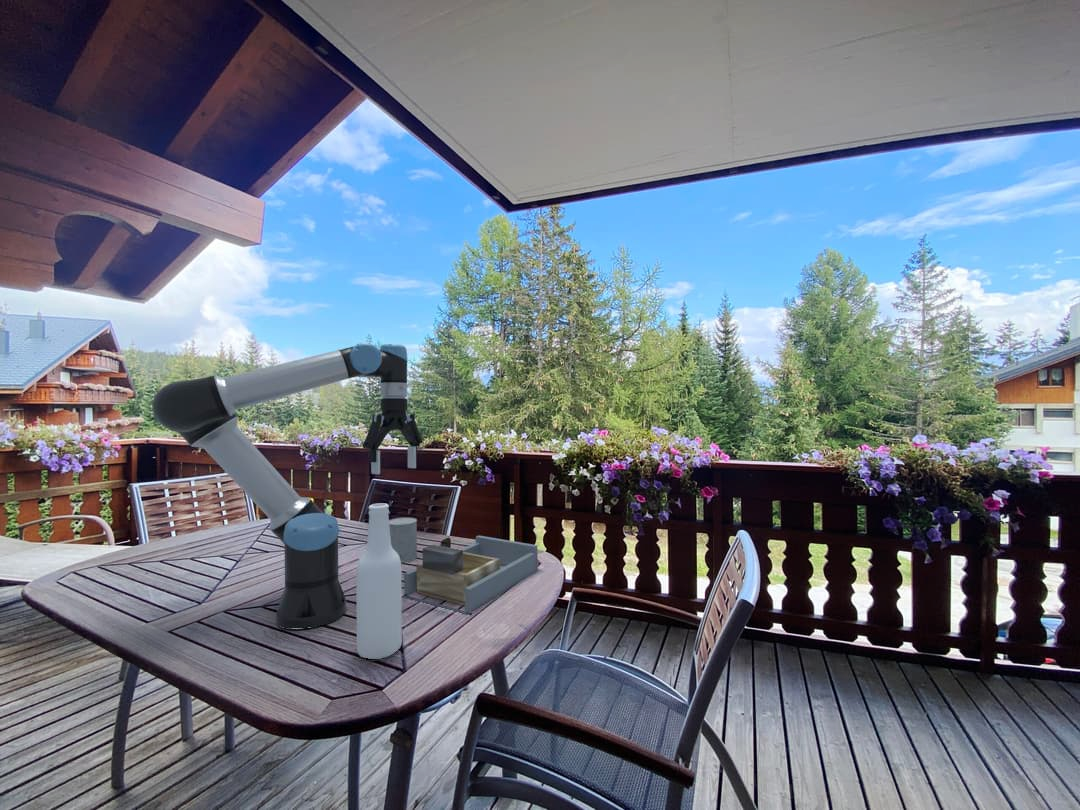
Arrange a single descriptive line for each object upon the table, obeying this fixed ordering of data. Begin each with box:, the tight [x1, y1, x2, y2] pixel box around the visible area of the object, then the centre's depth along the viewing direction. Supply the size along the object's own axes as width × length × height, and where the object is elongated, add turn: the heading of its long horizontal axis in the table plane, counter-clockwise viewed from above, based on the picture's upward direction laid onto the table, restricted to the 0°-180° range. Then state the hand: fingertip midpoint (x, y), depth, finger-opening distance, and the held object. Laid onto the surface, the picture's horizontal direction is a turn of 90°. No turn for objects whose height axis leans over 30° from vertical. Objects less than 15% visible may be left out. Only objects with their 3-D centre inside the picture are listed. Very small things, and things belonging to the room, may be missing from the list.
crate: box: [416, 544, 501, 606], centre depth 122 cm, size 15×17×12 cm
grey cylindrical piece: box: [389, 517, 418, 563], centre depth 153 cm, size 10×10×12 cm
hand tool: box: [439, 537, 452, 548], centre depth 153 cm, size 19×4×5 cm, turn 168°
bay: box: [403, 535, 539, 617], centre depth 129 cm, size 32×22×8 cm
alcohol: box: [355, 502, 403, 659], centre depth 95 cm, size 9×9×30 cm
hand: (394, 470), depth 133 cm, fingers open, 13 cm apart
